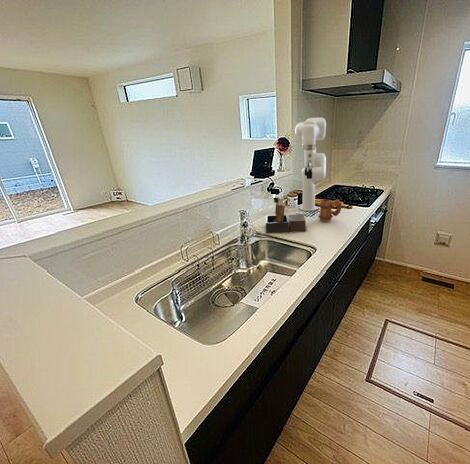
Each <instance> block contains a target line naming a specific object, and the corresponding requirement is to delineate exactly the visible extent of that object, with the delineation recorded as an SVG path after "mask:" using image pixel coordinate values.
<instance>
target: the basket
mask: <svg viewBox="0 0 470 464" xmlns="http://www.w3.org/2000/svg"><path fill="white" fill-rule="evenodd" d="M273 219H276V214H272V215H271V214H269V215H265V232H266V234H281V233H282V234H285V233H286V234H287V233H289V232H290V230H289V220H288V214H284V218H283V222H273Z"/></svg>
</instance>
